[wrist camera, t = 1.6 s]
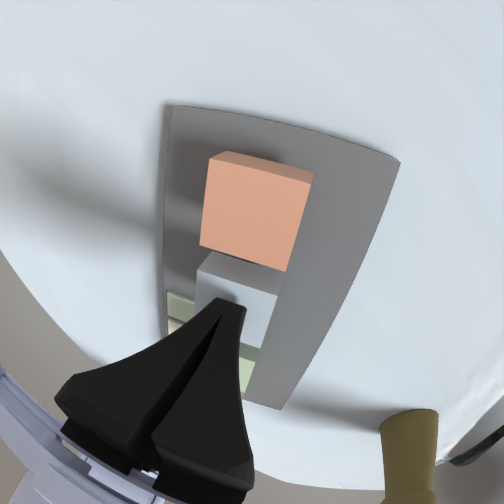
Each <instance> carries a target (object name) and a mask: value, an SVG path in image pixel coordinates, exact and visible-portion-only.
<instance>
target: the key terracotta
mask: <svg viewBox="0 0 504 504" xmlns="http://www.w3.org/2000/svg"><path fill="white" fill-rule="evenodd" d="M313 175H314V173H313V172H309V171H306V170H302V169H299V168H295V167H292V166H288V165H284V164H281V163H277V162H273V161H269V160H265V159H261V158H257V157H252V156H248V155H244V154H239V153H235V152H230V151H224V152H222V153H220V154H218V155H216V156H214V157H212V158H210V159H209V166H208V173H207V181H206V189H205V197H204V206H203V215H202V224H201V234H200V244H199V245H201V246H204V247H207V248H211V249H214V250H217V251H220V252H223V253H226V254H230V255H233V256H236V257H239V258H242V259H246V260H249V261H252V262H255V263H258V264H262V265H265V266H268V267H271V268H275V269H278V270H281V271H284V272H285V271H286V268H287V265H288V262H289V258H290V255H291V252H292V249H293V245H294V242H295V239H296V235H297V232H298V228H299V225H300V222H301V218H302V215H303V211H304V208H305V204H306V201H307V197H308V194H309V190H310V186H311V183H312V179H313Z"/></svg>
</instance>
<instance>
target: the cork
mask: <svg viewBox="0 0 504 504" xmlns="http://www.w3.org/2000/svg"><path fill="white" fill-rule="evenodd" d="M438 417H439V414H438V413H437V412H436V411H434V410H431V409H417V410H411V411H407V412H402V413H400V414H397V415H394V416H392V417H390V418H389V419H387V420H385V421H384V422H383V423H382V424H381V426H380V434H381V443H382V453H383V464H384V478H385V499H384V500H383V501H382V503H381V504H437V498H436V494H435V493H434V492H433V491H432V490H431V487H432V480H433V474H434V467H435V459H436V449H437V437H438Z"/></svg>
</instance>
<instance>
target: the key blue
mask: <svg viewBox="0 0 504 504" xmlns="http://www.w3.org/2000/svg"><path fill="white" fill-rule="evenodd" d="M284 275H285V274H284V273H281V272H278V271H274V270H271V269H268V268H265V267H262V266H258V265H255V264H252V263H249V262H246V261H242V260H239V259H236V258H233V257H230V256H226V255H223V254H220V253H217V252H214V251H212V252H211V253H210V254H209V255H208V257H207V258H206V259H205V261H204V262H203V263H202V264H201V266H200V267H199V268H198V269H197V279H196V292H195V307H194V316H195V315H196V314H197V313H199V312H200V311H201V310H202V309H203V308H204V307H206V306H207V305H208V304H209V303H210V302H211V301H212V300H213V299H214V298H216V297H219V298H221V299H224V300H227V301H230V302H233V303H236V304H239V305H242V306H245V307H246V308H247V312H246V317H245V321H244V325H243V329H242V333H241V337H240V342H242V343H245V344H248V345H251V346H254V347H257V348H261V345H262V342H263V339H264V336H265V333H266V330H267V327H268V324H269V321H270V318H271V315H272V312H273V309H274V306H275V303H276V300H277V297H278V294H279V290H280V287H281V284H282V281H283V278H284Z"/></svg>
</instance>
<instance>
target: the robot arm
mask: <svg viewBox="0 0 504 504" xmlns="http://www.w3.org/2000/svg"><path fill="white" fill-rule="evenodd" d="M246 312H247V308H246V307H245V306H242V305H239V304H236V303H233V302H230V301H227V300H224V299H221V298H219V297H216V298H214V299H213V300H212V301H211V302H210V303H209V304H208V305H207V306H206V307H204V308H203V309H202V310H201V311H200V312H199V313H197V314H196V315H195V316H194V317H193V318H191V319H190V320H189V321H187V322H186V323H185V324H184V325H182V326H181V327H179V328H178V329H177V330H175V331H174V332H172V333H171V334H169V335H168V336H166V337H165V338H163V339H162V340H160V341H158V342H157V343H155V344H153V345H151V346H150V347H148V348H146V349H144V350H142V351H140V352H138V353H136V354H134V355H132V356H129V357H127V358H125V359H123V360H120V361H117V362H115V363H112V364H109V365H106V366H103V367H100V368H98V369H93V370H90V371H86V372H82V373H78V374H74V375H73V376H72V377H71V378H70V379H69V380H68V381H67V382H66V383H65V384H64V385H63V387H62V388H61V389H60V391H59V392H58V393H57V395H56V396H55V397H54V399H55V402H56V403H57V405H58V406H59V407H60V409H61V410H62V411H63V412H64V413H65V414H66V415H67V417H68V419H67V421H66V422H65V424H64V423H63V422H62V421H60V420H59V419H58V418H56V417H55V416H54V415H53V414H52V413H50V412H49V411H48V410H47V409H46V408H44V407H43V406H42V405H41V404H40V403H39V402H37V401H36V400H35V399H34V398H33V397H32V396H31V395H30V394H29V393H28V392H26V391H25V390H24V389H23V388H22V387H21V386H20V385H19V384H18V383H17V382H16V381H15V380H14V379H13V378H12V377H11V376H10V375H9V373H7V371H6V370H5V368H4V367H3V365H2V364H1V363H0V437H1V438H2V439H3V441H4V442H5V443H6V444H7V445H8V447H9V448H10V449H11V450H12V452H14V454H15V455H16V456H17V457H18V459H19V460H20V461H21V462H22V463H23V464H24V465H25V466H26V467H27V469H28V471H27V473H26V475H25V476H24V478H23V479H22V481H21V483H20V484H19V486H18V488H17V489H16V491H15V493H14V495H13V496H12V498H11V500H10V501H9V503H8V504H163V503H164V501H165V500H168V501H170V502H172V503H175V504H242V502H243V501H244V499H245V496H246V493H247V492H248V491H249V490H251V489H252V488H253V486H254V479H255V478H254V462H253V454H252V450H251V447H250V443H249V439H248V435H247V430H246V425H245V420H244V414H243V408H242V401H241V392H240V380H239V348H240V337H241V333H242V329H243V325H244V321H245V317H246ZM60 437H61V438H62V439H63V440H65V441H66V442H67V443H69V444H70V445H71V446H73V447H74V448H75V449H77V450H78V451H79V452H78V453H77V455H75V454H74V453H72V452H71V451H70V450H69V449H67V448H66V447H65V446H63V445H62V440H61V438H60Z"/></svg>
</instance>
